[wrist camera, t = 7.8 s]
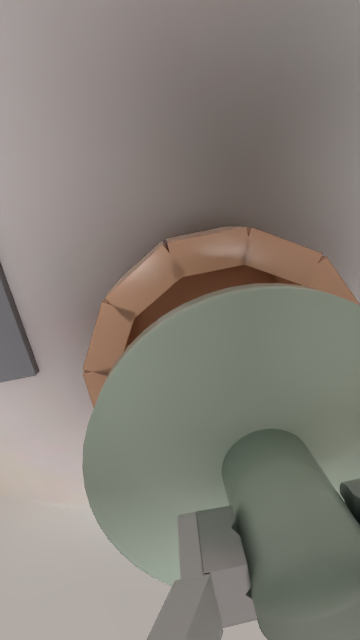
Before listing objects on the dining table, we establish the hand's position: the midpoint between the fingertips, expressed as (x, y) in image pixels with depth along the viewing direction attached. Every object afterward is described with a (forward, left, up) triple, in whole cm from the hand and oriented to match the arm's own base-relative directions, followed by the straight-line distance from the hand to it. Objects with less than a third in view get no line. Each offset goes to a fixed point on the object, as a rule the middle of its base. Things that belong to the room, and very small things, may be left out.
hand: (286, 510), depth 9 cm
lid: (0, 0, -3) cm, 3 cm away
